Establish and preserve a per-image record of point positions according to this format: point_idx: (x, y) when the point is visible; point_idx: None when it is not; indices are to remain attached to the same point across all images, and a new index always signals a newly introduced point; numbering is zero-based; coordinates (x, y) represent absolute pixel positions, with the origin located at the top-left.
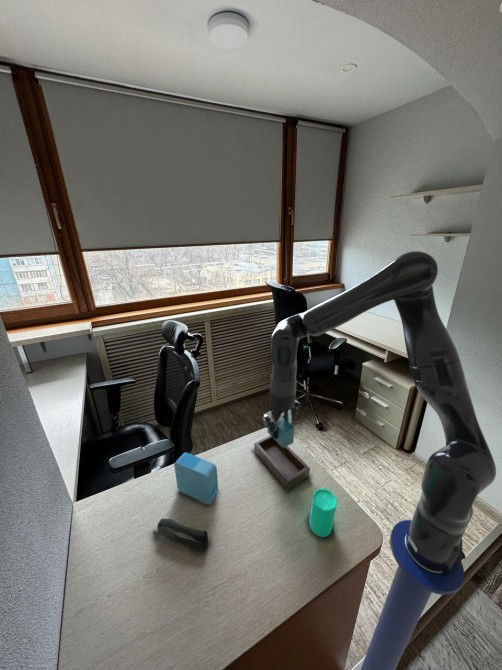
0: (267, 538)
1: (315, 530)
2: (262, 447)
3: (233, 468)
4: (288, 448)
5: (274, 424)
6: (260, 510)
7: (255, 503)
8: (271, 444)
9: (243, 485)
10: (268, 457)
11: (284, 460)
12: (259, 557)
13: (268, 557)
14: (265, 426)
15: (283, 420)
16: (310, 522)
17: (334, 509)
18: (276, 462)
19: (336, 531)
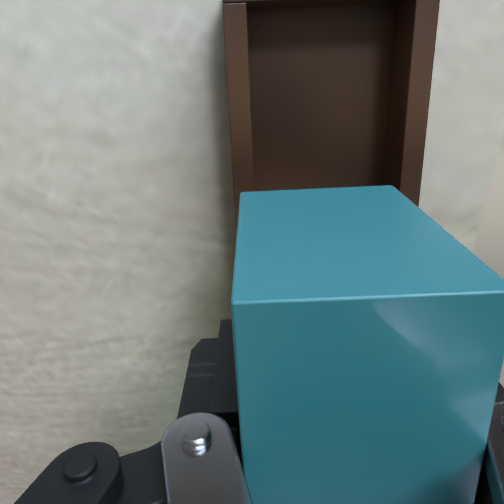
0: (62, 418)
1: None
2: (287, 8)
3: (32, 52)
4: (412, 175)
5: (242, 463)
6: (82, 332)
7: (74, 298)
8: (364, 17)
9: (52, 190)
10: (240, 168)
11: (345, 185)
12: (12, 446)
13: (40, 457)
14: (43, 484)
15: (431, 489)
16: None
17: None
18: (293, 172)
19: None
